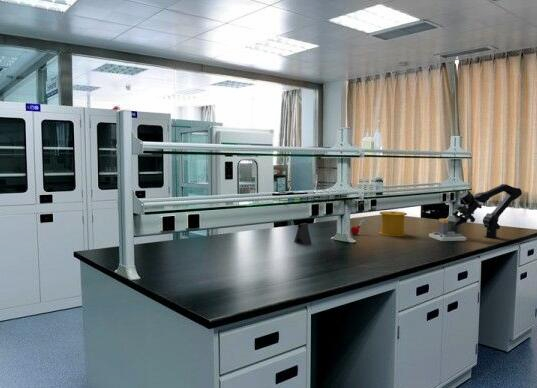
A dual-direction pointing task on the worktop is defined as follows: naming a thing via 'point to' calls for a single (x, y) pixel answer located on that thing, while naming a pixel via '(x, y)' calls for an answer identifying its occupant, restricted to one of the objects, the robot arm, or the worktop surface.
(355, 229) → the molecular model
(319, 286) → the worktop surface
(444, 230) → the breaker handle
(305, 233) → the phone stand
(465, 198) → the robot arm
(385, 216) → the spool
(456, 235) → the white rail base plate
